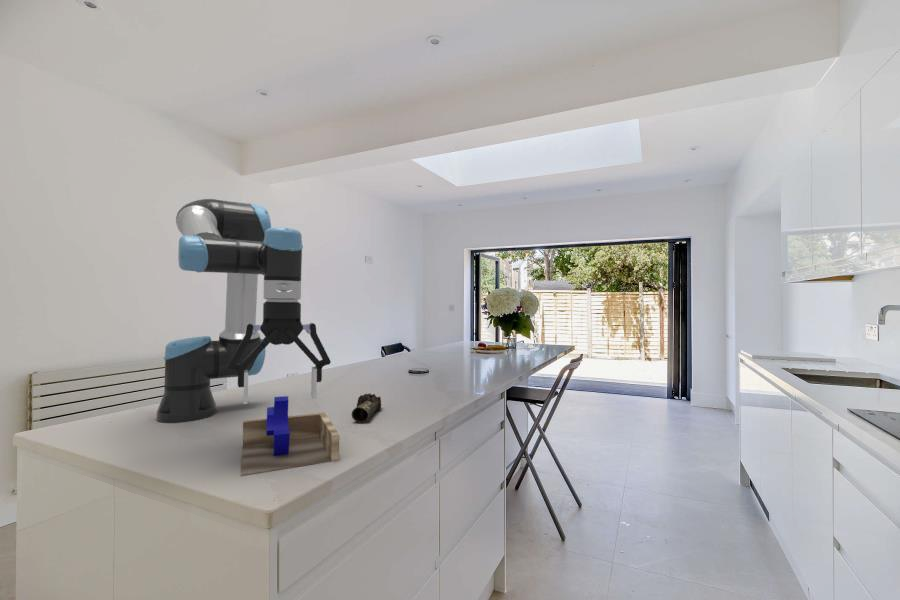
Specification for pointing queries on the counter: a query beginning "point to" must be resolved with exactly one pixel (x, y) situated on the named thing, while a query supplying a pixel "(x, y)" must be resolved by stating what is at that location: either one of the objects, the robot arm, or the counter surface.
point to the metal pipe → (366, 407)
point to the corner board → (307, 444)
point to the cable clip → (279, 425)
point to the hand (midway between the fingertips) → (280, 399)
